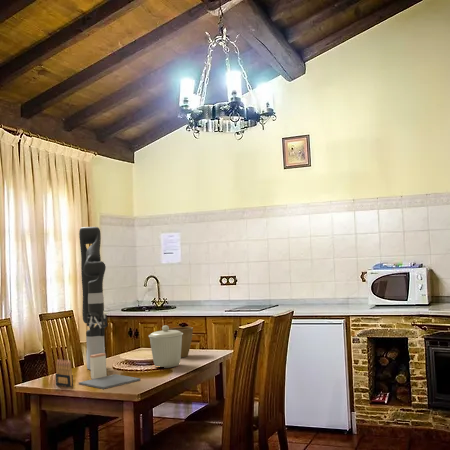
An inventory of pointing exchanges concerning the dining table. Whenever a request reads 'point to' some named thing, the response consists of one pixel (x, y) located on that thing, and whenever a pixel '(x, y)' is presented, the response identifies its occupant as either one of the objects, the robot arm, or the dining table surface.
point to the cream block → (98, 365)
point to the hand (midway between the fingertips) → (97, 335)
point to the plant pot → (185, 339)
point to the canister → (166, 347)
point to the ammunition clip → (64, 373)
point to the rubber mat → (109, 381)
